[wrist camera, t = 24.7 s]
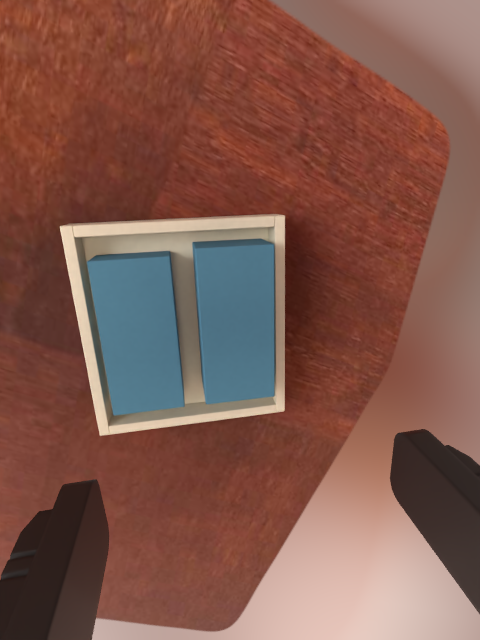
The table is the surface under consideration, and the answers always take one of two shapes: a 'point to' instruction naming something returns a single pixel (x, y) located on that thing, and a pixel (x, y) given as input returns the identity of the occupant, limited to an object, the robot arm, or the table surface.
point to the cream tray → (177, 239)
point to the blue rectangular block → (236, 318)
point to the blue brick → (138, 330)
